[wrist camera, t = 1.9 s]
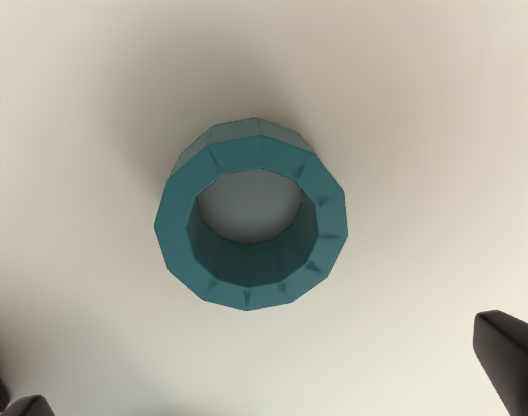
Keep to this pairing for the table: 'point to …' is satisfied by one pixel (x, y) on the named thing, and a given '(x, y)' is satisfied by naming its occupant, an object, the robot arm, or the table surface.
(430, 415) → the table surface
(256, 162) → the tape roll
